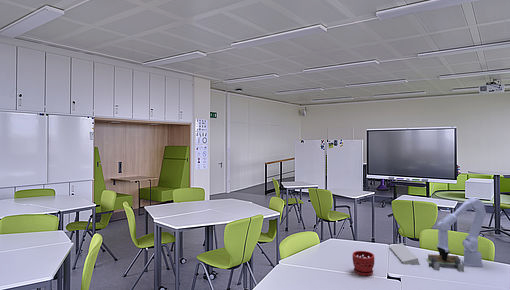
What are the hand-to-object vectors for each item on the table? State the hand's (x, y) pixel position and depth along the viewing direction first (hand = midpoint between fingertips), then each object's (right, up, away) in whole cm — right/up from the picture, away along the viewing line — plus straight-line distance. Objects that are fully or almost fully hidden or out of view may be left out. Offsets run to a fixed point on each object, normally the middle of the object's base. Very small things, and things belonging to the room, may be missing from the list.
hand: (443, 259), depth 219 cm
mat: (0, -2, 0) cm, 2 cm away
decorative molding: (-21, -3, +14) cm, 25 cm away
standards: (-5, -2, -12) cm, 13 cm away
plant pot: (-60, -3, -17) cm, 62 cm away
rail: (0, -1, 0) cm, 1 cm away
